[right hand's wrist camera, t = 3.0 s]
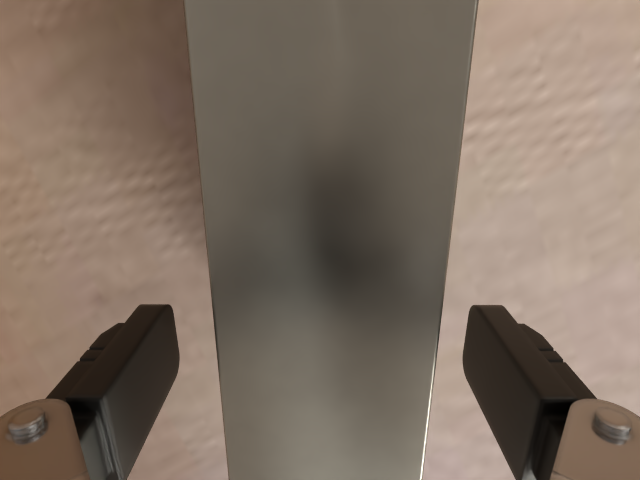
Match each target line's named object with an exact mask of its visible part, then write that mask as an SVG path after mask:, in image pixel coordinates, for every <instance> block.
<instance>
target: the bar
mask: <svg viewBox="0 0 640 480" xmlns="http://www.w3.org/2000/svg"><path fill="white" fill-rule="evenodd" d="M478 2H479V0H183V4H184V14H185V25H186V35H187V46H188V56H189V67H190V77H191V88H192V98H193V109H194V119H195V130H196V140H197V151H198V161H199V171H200V182H201V192H202V203H203V213H204V224H205V234H206V245H207V255H208V266H209V276H210V287H211V297H212V308H213V318H214V329H215V339H216V350H217V360H218V371H219V381H220V392H221V402H222V413H223V423H224V434H225V444H226V455H227V465H228V476H229V480H422V477H423V469H424V460H425V452H426V443H427V435H428V426H429V418H430V409H431V401H432V392H433V384H434V375H435V367H436V358H437V350H438V341H439V333H440V324H441V316H442V307H443V299H444V290H445V282H446V273H447V265H448V256H449V248H450V239H451V231H452V222H453V214H454V205H455V197H456V188H457V180H458V172H459V163H460V155H461V146H462V138H463V129H464V121H465V112H466V104H467V95H468V87H469V78H470V70H471V61H472V53H473V44H474V36H475V27H476V19H477V10H478Z"/></svg>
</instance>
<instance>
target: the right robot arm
mask: <svg viewBox="0 0 640 480" xmlns="http://www.w3.org/2000/svg"><path fill="white" fill-rule="evenodd" d="M178 368H179V348H178V341H177V334H176V327H175V320H174V313H173V309H172V307H171V306H170V305H168V304H142V305H139V306H138V307H137V308H136V310H135V311H134V312H133V313H132V315H131V316H130V317H129V318H128V320H127V321H126V322H125V323H118V324H116V325H115V326H113V327H112V328H110V329H108V330H107V331H105V332H104V333H102V334H101V335H100V336H99V337H98V338H97V339H96V341H95V342H94V343H93V344H92V345H91V346H90V349H89V350H87V351H86V352H85V353H84V355H83V356H82V357H81V358H80V361H77V363H76V364H75V365H74V366H73V367H72V368H71V370H70V371H69V372H68V373H67V374H66V375H65V377H64V378H63V379H62V380H61V381H60V382H59V384H58V385H57V386H56V387H55V388H54V389H53V391H52V392H51V393H50V394H49V395H48V396H47V398H46V399H41V400H36V401H32V402H29V403H26V404H23V405H21V406H19V407H16V408H15V409H13V410H11V411H9V412H7V413H6V414H4V415H3V416H1V417H0V480H127V478H128V476H129V474H130V471H131V469H132V467H133V465H134V463H135V461H136V459H137V457H138V455H139V453H140V451H141V449H142V447H143V445H144V443H145V440H146V438H147V436H148V434H149V432H150V430H151V428H152V426H153V424H154V422H155V420H156V418H157V416H158V414H159V412H160V409H161V407H162V405H163V403H164V401H165V399H166V397H167V395H168V393H169V391H170V389H171V387H172V385H173V383H174V381H175V378H176V376H177V373H178ZM463 368H464V373H465V376H466V379H467V381H468V383H469V385H470V387H471V389H472V391H473V393H474V395H475V397H476V399H477V401H478V403H479V405H480V407H481V410H482V412H483V414H484V416H485V418H486V420H487V422H488V424H489V426H490V428H491V430H492V432H493V434H494V436H495V438H496V440H497V442H498V444H499V446H500V448H501V450H502V452H503V454H504V457H505V459H506V461H507V463H508V465H509V467H510V469H511V471H512V473H513V475H514V477H515V479H516V480H640V417H639V416H637V415H636V414H634V413H633V412H631V411H629V410H627V409H625V408H623V407H621V406H619V405H617V404H614V403H611V402H608V401H604V400H599V399H597V398H596V397H595V396H594V395H593V394H592V392H591V391H590V390H589V389H588V388H587V387H586V385H585V384H584V383H583V382H582V381H581V380H580V379H579V377H578V376H577V375H576V374H575V373H574V372H573V370H572V369H571V368H570V367H569V366H568V365H567V364H566V362H563V359H562V358H561V357H560V356H559V354H558V353H557V352H556V351H553V347H552V346H551V345H550V344H549V343H548V342H547V341H546V339H545V338H544V337H543V336H542V335H541V334H539V333H538V332H536V331H535V330H533V329H531V328H530V327H528V326H527V325H525V324H518V323H517V322H516V321H515V320H514V318H513V317H512V316H511V315H510V313H509V312H508V311H507V310H506V308H505V307H504V306H502V305H473V306H472V307H471V308H470V311H469V316H468V323H467V329H466V336H465V343H464V350H463Z"/></svg>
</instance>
